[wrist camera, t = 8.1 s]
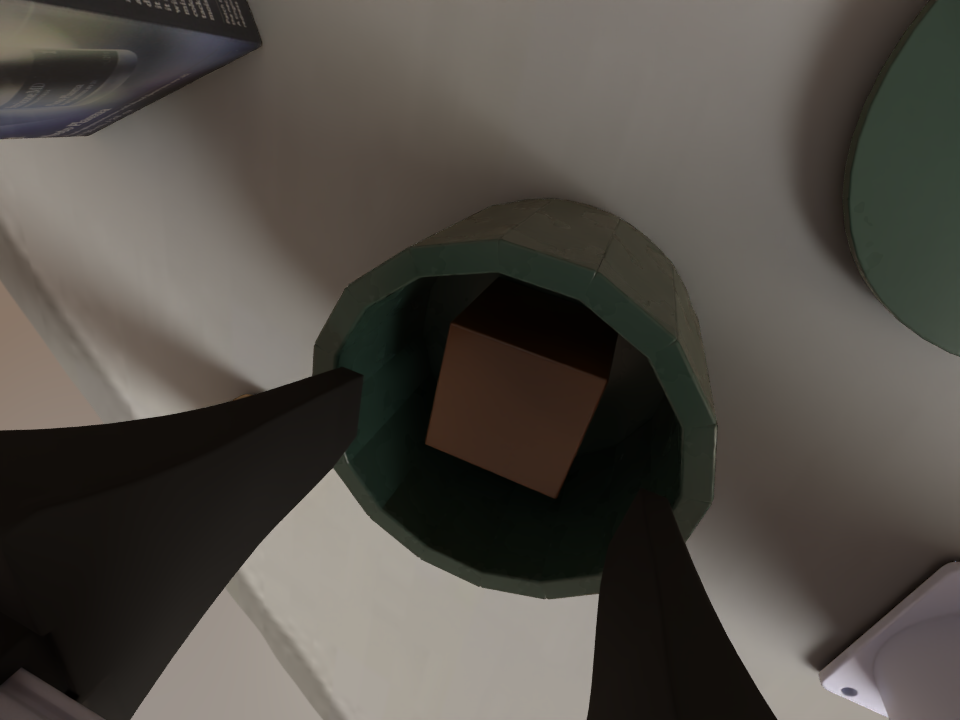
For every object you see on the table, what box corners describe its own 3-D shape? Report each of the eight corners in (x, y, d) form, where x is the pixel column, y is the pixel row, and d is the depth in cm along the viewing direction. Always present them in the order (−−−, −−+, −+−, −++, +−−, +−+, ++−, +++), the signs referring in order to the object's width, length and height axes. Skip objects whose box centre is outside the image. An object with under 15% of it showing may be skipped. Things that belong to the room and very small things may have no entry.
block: (621, 318, 16) (609, 380, 12) (578, 421, 18) (556, 501, 14) (498, 276, 16) (449, 322, 13) (471, 379, 19) (422, 444, 15)
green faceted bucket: (759, 256, 14) (823, 344, 8) (626, 499, 19) (612, 651, 14) (439, 159, 16) (320, 180, 10) (398, 405, 21) (305, 505, 16)
